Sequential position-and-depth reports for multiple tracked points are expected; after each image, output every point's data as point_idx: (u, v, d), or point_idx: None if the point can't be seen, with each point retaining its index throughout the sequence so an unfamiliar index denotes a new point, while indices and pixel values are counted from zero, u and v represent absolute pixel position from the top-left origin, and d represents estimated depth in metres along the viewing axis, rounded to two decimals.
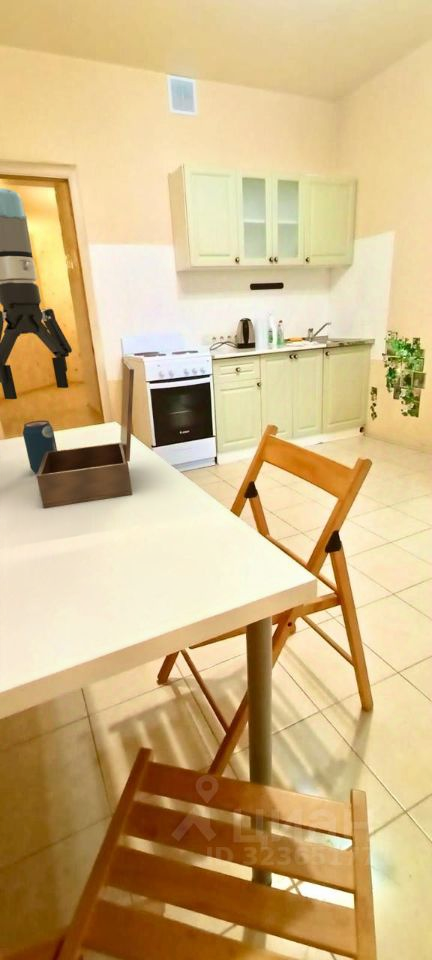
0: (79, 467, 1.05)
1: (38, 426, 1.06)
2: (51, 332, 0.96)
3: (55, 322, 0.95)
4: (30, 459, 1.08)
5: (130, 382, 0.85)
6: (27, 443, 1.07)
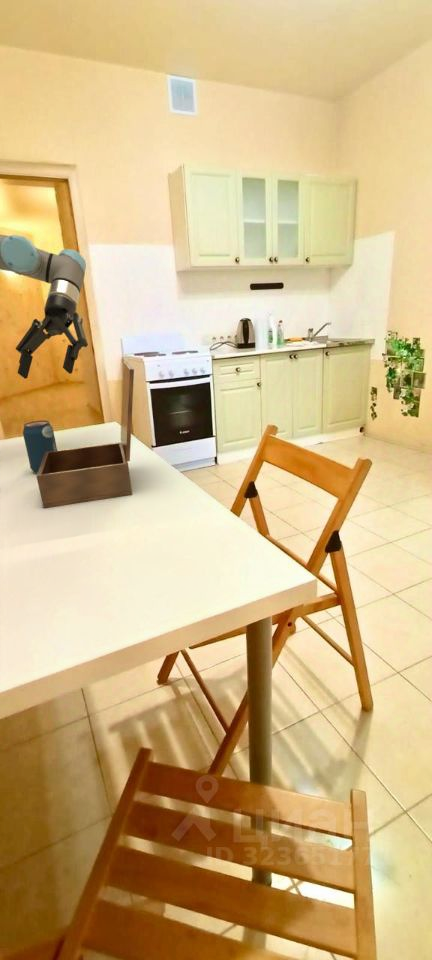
0: (79, 467, 1.05)
1: (38, 426, 1.06)
2: (30, 335, 1.17)
3: None
4: (30, 459, 1.08)
5: (130, 382, 0.85)
6: (27, 443, 1.07)
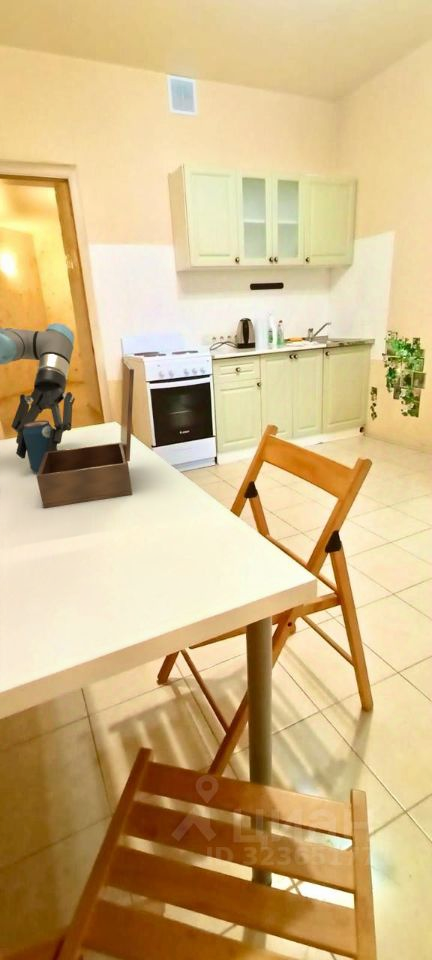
0: (79, 467, 1.05)
1: (38, 426, 1.06)
2: (22, 411, 1.12)
3: None
4: (30, 459, 1.08)
5: (130, 382, 0.85)
6: (27, 443, 1.07)
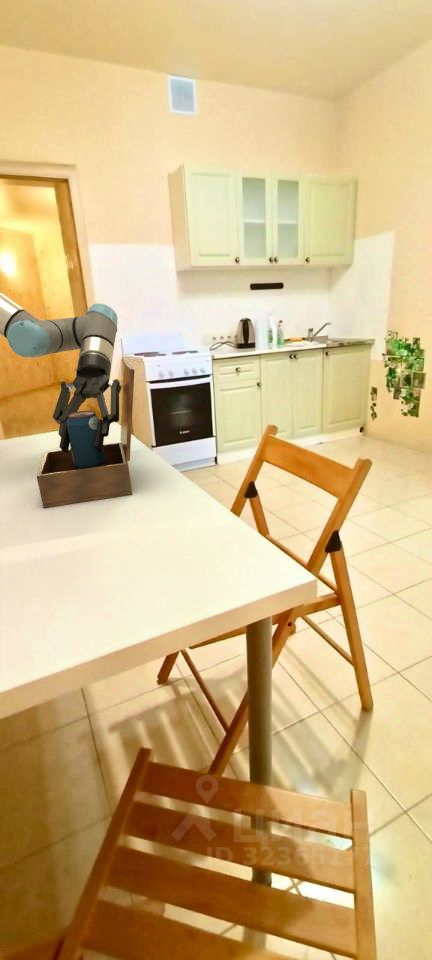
0: None
1: (84, 416, 0.94)
2: (64, 400, 1.00)
3: None
4: (74, 454, 0.97)
5: (130, 382, 0.85)
6: (71, 435, 0.95)
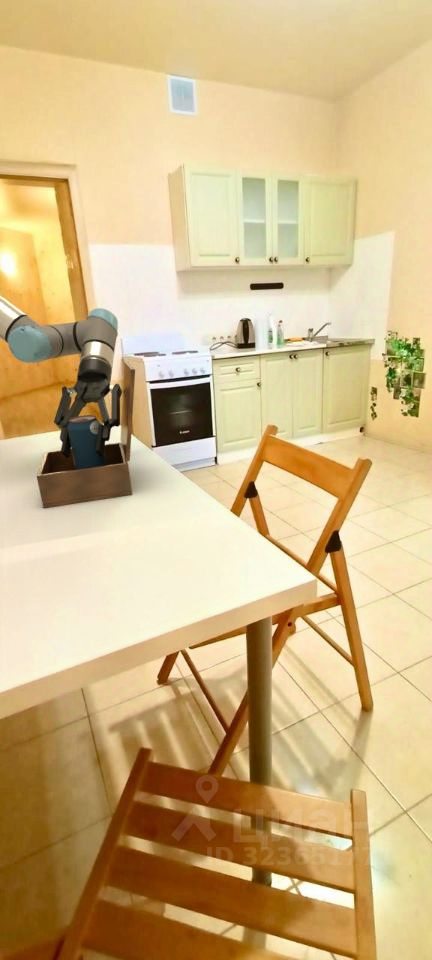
0: None
1: (86, 421, 0.94)
2: (65, 404, 1.01)
3: None
4: (75, 458, 0.97)
5: (131, 382, 0.85)
6: (72, 440, 0.95)
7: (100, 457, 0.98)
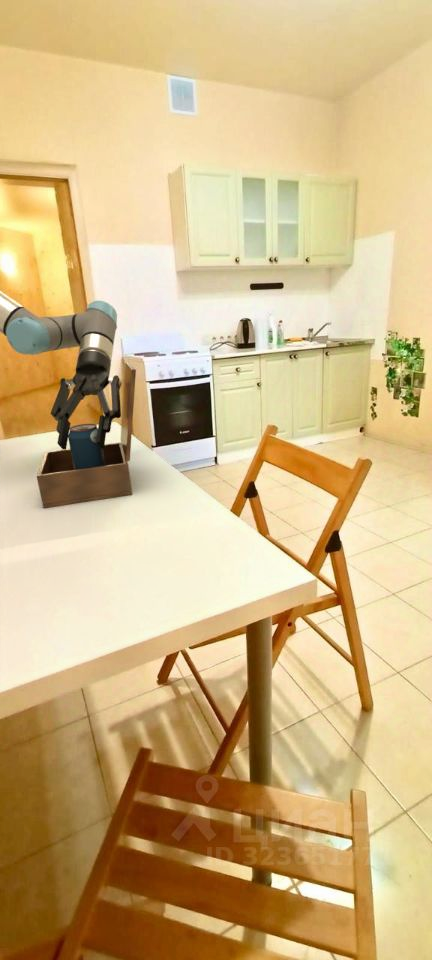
0: None
1: (86, 430, 0.95)
2: (63, 396, 1.00)
3: None
4: (76, 467, 0.98)
5: (132, 382, 0.85)
6: (73, 449, 0.96)
7: (100, 465, 0.98)
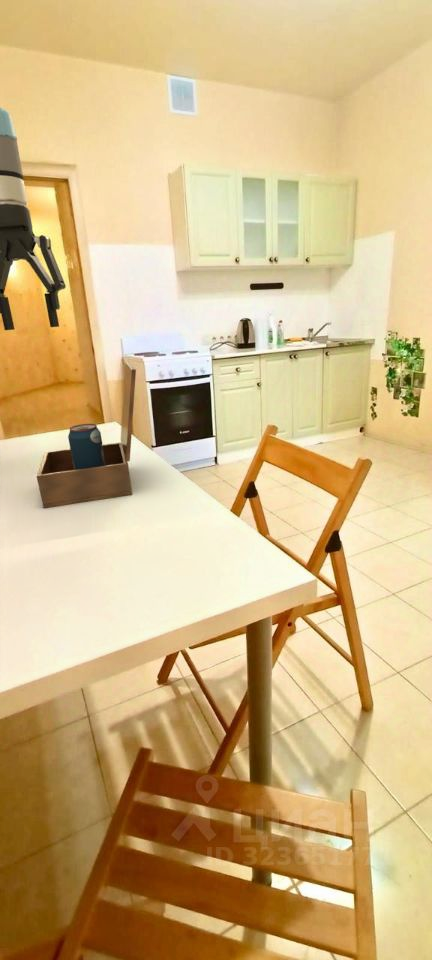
0: None
1: (86, 430, 0.95)
2: None
3: None
4: (76, 467, 0.98)
5: (132, 382, 0.85)
6: (73, 449, 0.96)
7: (100, 465, 0.98)
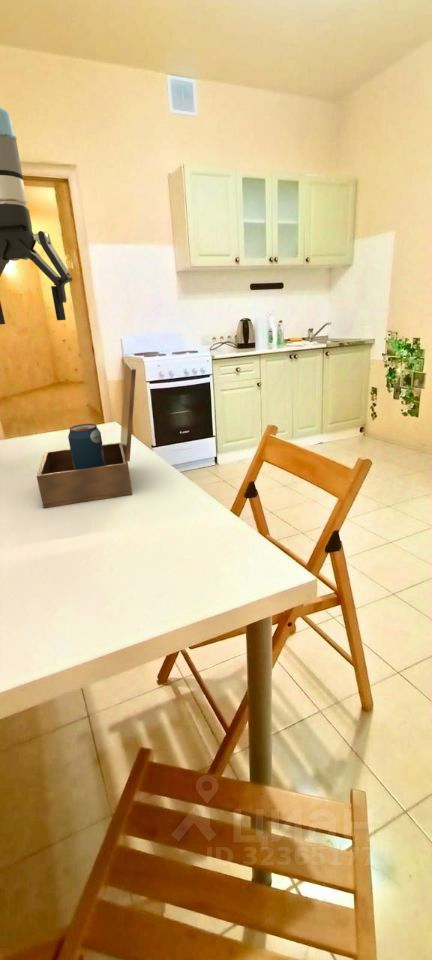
0: None
1: (86, 430, 0.95)
2: None
3: None
4: (76, 467, 0.98)
5: (132, 382, 0.85)
6: (73, 449, 0.96)
7: (100, 465, 0.98)
